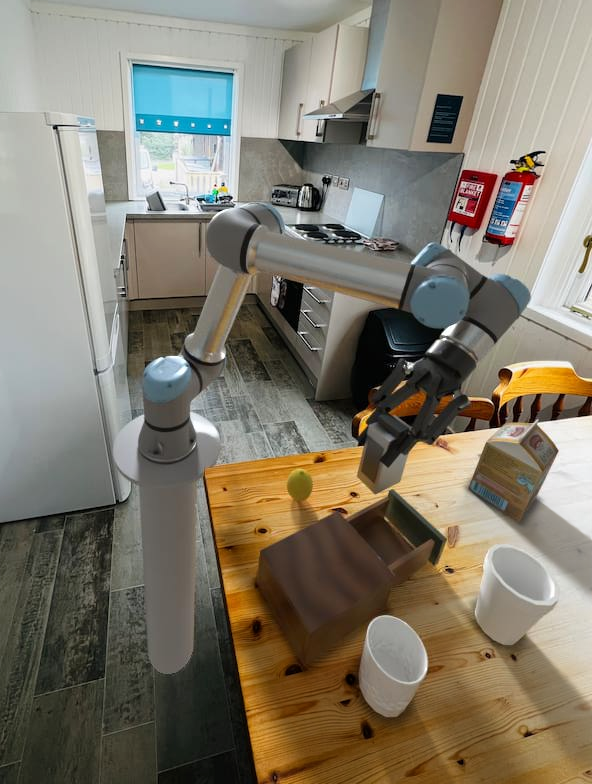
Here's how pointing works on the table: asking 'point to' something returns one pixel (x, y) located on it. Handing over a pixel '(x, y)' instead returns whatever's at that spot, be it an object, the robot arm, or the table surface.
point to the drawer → (398, 535)
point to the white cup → (391, 665)
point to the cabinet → (323, 584)
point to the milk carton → (514, 467)
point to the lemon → (299, 484)
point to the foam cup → (513, 593)
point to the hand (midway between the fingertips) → (371, 453)
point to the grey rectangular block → (376, 447)
